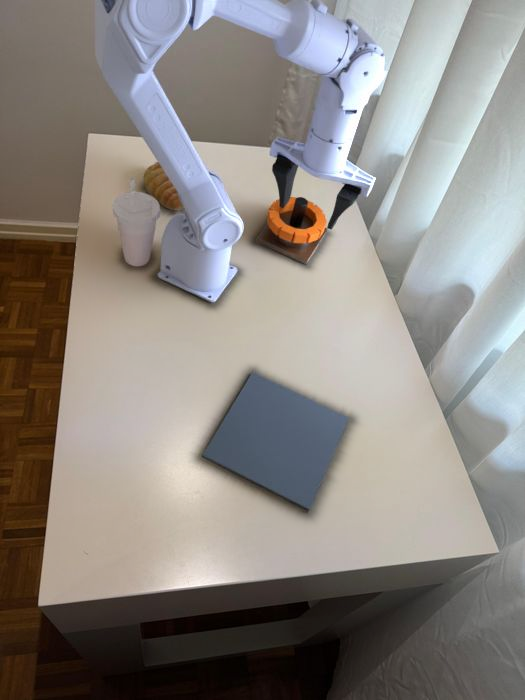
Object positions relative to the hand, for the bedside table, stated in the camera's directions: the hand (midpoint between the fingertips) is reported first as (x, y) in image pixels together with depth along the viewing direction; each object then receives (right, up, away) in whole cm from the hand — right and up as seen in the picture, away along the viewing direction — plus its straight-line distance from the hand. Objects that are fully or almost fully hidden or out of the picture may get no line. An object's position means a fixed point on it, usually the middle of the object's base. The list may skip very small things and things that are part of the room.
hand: (307, 214), depth 83 cm
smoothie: (-25, -6, +3) cm, 26 cm away
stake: (-2, -1, +11) cm, 11 cm away
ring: (-1, +1, +9) cm, 9 cm away
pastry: (-22, +7, +13) cm, 27 cm away
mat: (-5, -31, -12) cm, 33 cm away
